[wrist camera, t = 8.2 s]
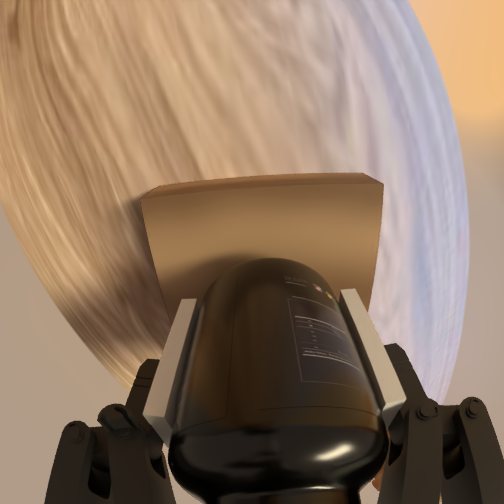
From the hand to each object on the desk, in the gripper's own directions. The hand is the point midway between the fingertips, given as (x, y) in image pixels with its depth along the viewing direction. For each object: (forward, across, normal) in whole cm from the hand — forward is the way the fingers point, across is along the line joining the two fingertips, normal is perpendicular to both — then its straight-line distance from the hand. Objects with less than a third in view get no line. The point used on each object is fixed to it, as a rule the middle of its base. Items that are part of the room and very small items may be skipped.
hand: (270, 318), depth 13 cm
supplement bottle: (+1, 0, 0) cm, 1 cm away
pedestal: (+5, 0, 0) cm, 5 cm away
